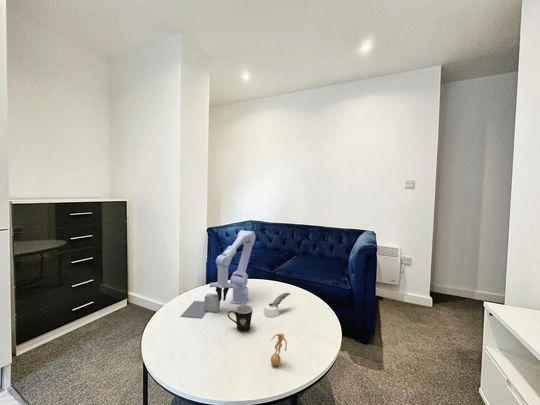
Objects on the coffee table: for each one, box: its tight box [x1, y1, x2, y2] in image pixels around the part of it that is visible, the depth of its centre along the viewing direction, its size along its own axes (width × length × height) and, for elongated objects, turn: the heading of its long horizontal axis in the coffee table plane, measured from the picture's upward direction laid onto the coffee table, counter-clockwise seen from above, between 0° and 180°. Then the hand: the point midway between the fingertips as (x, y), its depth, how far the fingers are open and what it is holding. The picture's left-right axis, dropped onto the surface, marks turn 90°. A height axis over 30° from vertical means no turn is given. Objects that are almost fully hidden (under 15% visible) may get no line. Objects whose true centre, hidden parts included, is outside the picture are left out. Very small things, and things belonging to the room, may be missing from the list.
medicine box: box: [203, 292, 221, 313], centre depth 135 cm, size 8×4×9 cm, turn 84°
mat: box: [180, 300, 208, 319], centre depth 136 cm, size 12×18×1 cm, turn 174°
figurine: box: [270, 332, 288, 367], centre depth 95 cm, size 8×6×12 cm
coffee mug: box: [227, 304, 253, 333], centre depth 119 cm, size 12×9×10 cm
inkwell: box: [263, 292, 291, 318], centre depth 136 cm, size 9×18×10 cm, turn 124°
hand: (222, 300), depth 134 cm, fingers closed
